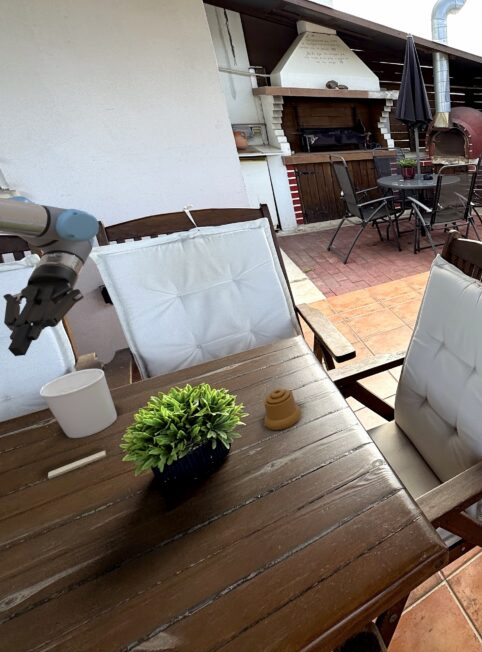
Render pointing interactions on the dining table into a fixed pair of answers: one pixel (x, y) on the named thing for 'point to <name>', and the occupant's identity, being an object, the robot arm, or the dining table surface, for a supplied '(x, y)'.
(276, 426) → the ornamental finial
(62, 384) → the white tapered cylinder
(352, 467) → the dining table surface
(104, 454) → the strip
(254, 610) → the dining table surface
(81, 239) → the robot arm
